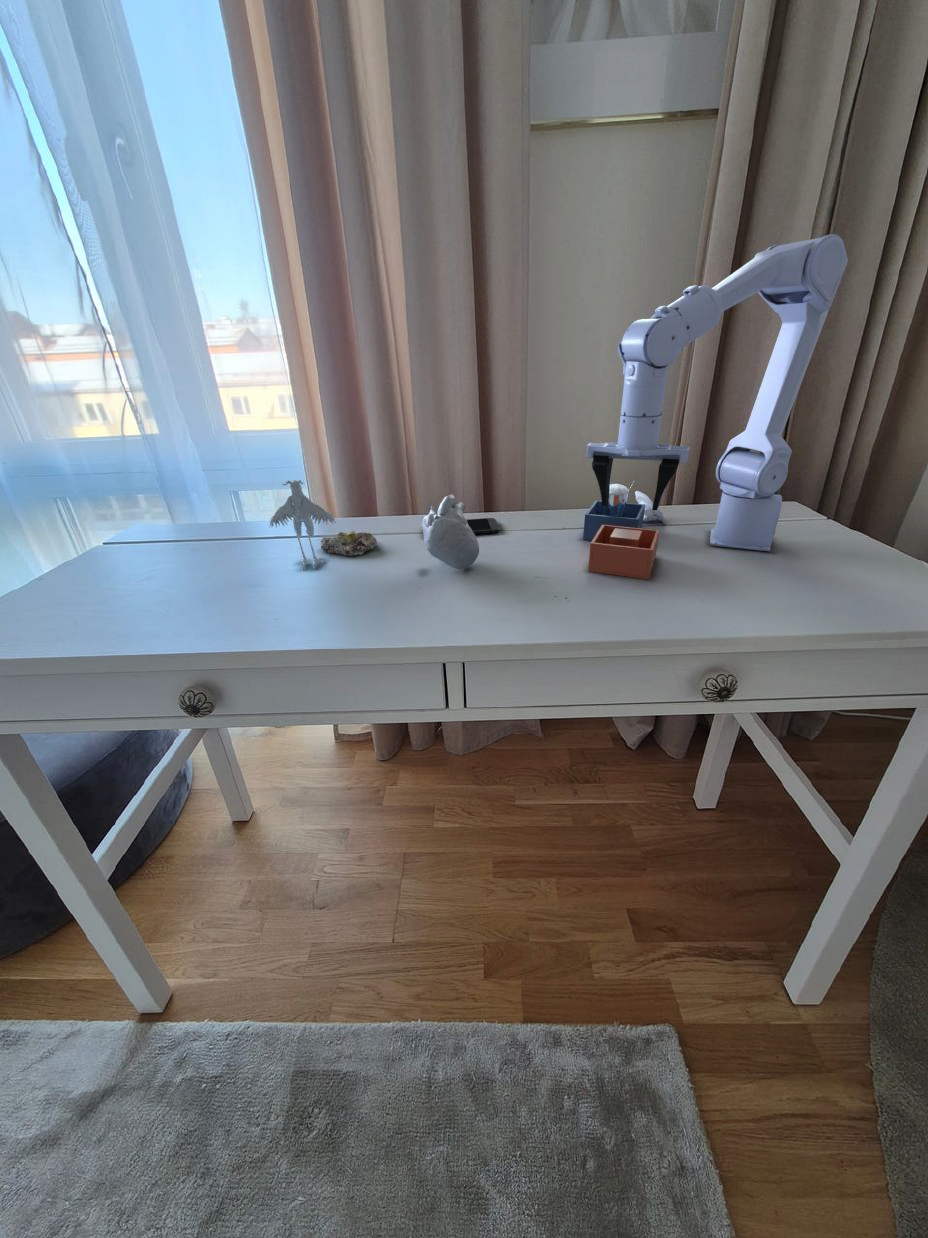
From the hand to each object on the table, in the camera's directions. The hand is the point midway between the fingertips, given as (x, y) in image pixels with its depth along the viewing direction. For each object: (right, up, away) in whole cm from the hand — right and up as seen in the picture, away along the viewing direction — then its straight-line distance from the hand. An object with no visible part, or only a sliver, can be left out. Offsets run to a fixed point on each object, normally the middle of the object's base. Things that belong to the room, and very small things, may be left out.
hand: (629, 506), depth 80 cm
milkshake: (+3, -1, +17) cm, 17 cm away
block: (0, -8, +5) cm, 10 cm away
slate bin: (+3, -2, +17) cm, 18 cm away
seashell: (+11, +2, +23) cm, 26 cm away
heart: (-28, -9, +7) cm, 31 cm away
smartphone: (-27, 0, +23) cm, 35 cm away
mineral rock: (-48, -5, +16) cm, 51 cm away
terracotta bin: (0, -9, +5) cm, 10 cm away
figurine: (-53, -8, +10) cm, 55 cm away
